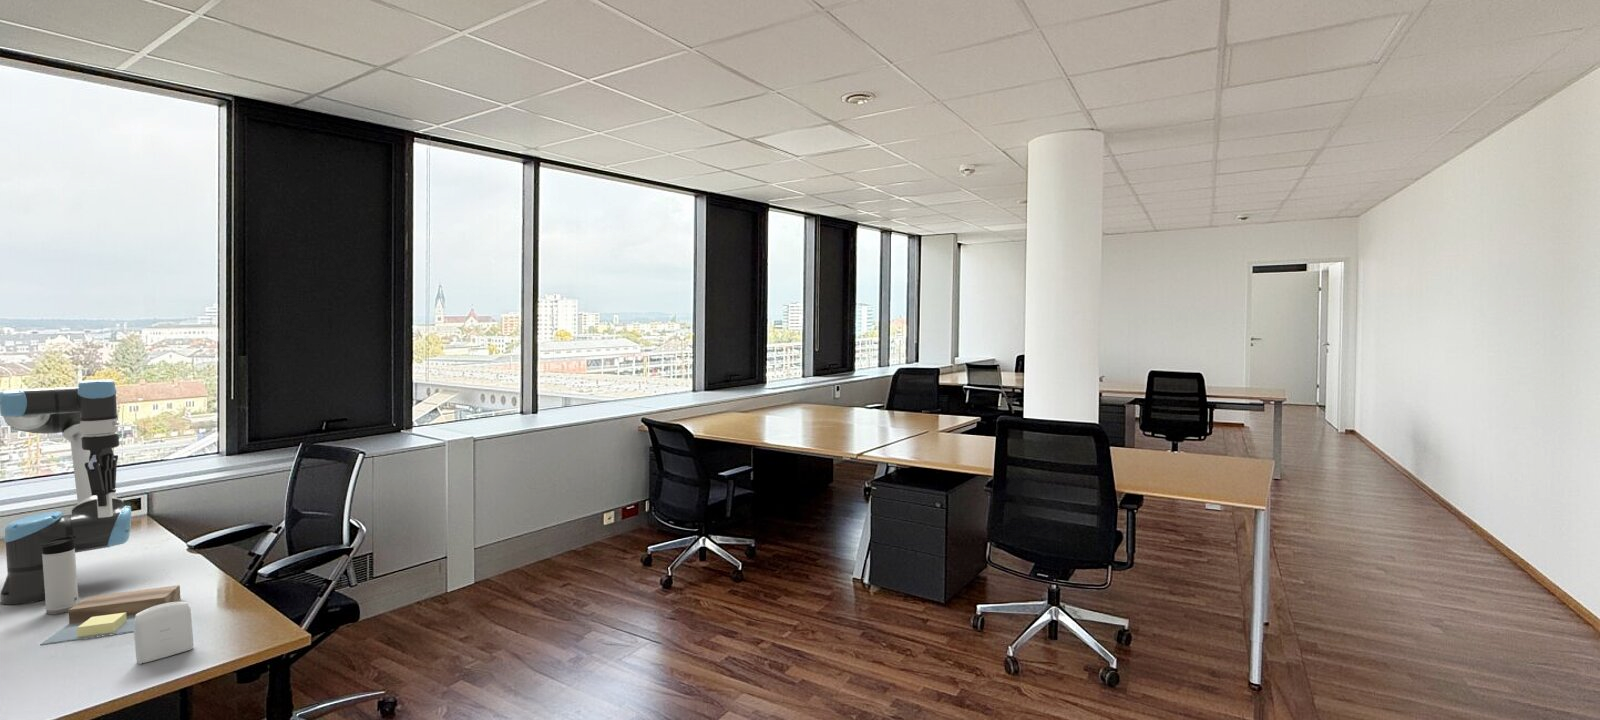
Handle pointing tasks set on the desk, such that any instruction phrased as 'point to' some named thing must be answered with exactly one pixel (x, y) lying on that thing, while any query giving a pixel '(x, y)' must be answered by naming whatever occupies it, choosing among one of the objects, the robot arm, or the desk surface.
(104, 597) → the brown wooden block
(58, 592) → the travel mug
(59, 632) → the rubber mat
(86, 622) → the note pad
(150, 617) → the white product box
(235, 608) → the desk surface
